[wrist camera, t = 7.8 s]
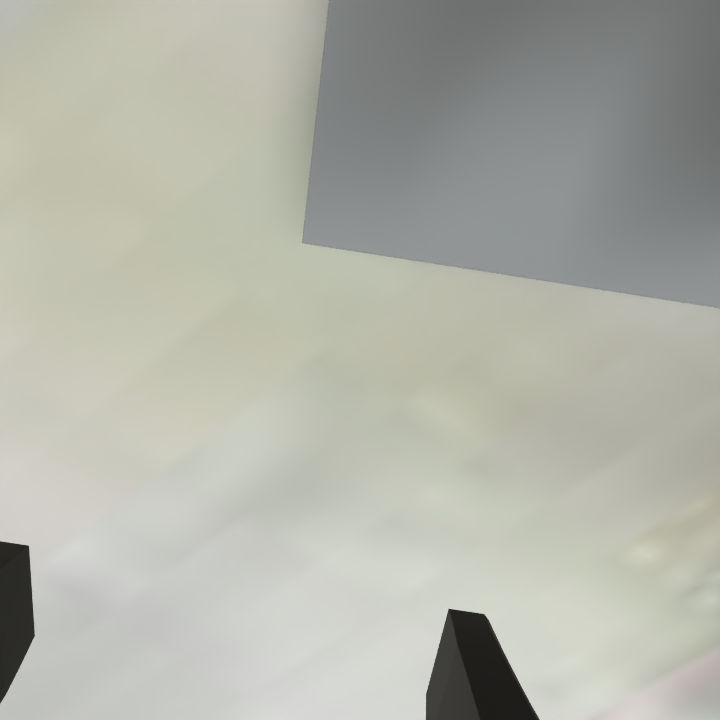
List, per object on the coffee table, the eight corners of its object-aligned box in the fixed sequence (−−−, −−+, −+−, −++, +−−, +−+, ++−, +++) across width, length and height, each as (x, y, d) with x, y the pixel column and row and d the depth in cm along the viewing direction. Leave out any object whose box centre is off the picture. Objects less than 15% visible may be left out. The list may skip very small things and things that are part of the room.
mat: (1022, -299, 13) (1040, -309, 13) (768, 311, 18) (775, 316, 18) (377, -407, 13) (376, -421, 13) (303, 239, 18) (301, 243, 18)
